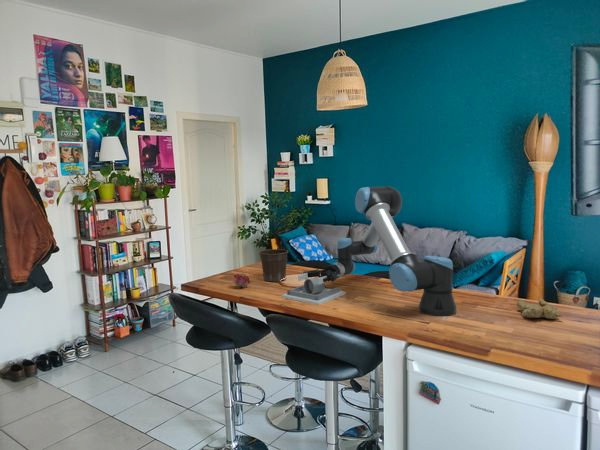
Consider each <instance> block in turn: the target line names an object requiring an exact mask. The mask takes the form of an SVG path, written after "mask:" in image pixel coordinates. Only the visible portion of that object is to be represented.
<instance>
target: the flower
mask: <svg viewBox="0 0 600 450" xmlns="http://www.w3.org/2000/svg"><path fill="white" fill-rule="evenodd" d="M233 276H234V281H233V283H234V284H235V286H238V290H240V289H241V288H243V289H244V288H248V287H247V286H248V285H250V282H251V281H250V277H249V276H248V275H246V274H245V273H236V274H233Z"/></svg>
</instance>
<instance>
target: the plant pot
mask: <svg viewBox="0 0 600 450" xmlns="http://www.w3.org/2000/svg"><path fill="white" fill-rule="evenodd" d="M258 253H259V257H260V260H261V267H262V275H263V281H265V282H266V283H267V282H269V283H270V282H273V283H278V282H279V281H280V280H281V279H283V278H285V277H286V275H287V271H286V270H287V261H288V259H287V258H288V253H289V250H287V249H282V248H281V249H279V248H276V249H275V248H274V249H273V248H271V249H270V248H269V249H263V250H260V251H259V252H258ZM280 282H281V281H280Z"/></svg>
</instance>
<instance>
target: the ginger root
mask: <svg viewBox="0 0 600 450" xmlns="http://www.w3.org/2000/svg"><path fill="white" fill-rule="evenodd" d="M537 300H538V304H536V303H528V302H527V301H526V300H525V301H524V300H517V302H516V307H517V308H519V310H521V311H522V312H521V315H522V316H523V317H525V318H529V319H532V318H533V319H534V318H535V319H536V318H538V319H539V318H542V317H545V318H546V319H548V320H549V319H550V320H555V319H557V318H563V317H564V314H562V313H560V312H559V309H558V306H556V305H553V304H550V303H549V302H547V301H545V300H544V299H543V298H541V297H538V299H537Z"/></svg>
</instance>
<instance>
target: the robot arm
mask: <svg viewBox="0 0 600 450" xmlns="http://www.w3.org/2000/svg"><path fill="white" fill-rule="evenodd" d="M402 206H403V199H402V195H401V193H400V192H399V190H397V189H396V188H394V187H392V186H366V187H360V188H359V189H358V191H356V195H355V200H354V207H355V210H356V211H357V212H358V213H360V214H364V216H365V218H366V219H367V220H368V221H371V223H370V225H369V226H368V229H367V230H366V232H365V234H364V235H363V237H362V239H360V240H353V241H352V238H351V237H341V238H338V239H337V242H336V243H337V244H336V249H337V251H336V253H337V254H336V255H337V262H335V263H332V264H329V265H327V266H326V267H325V268H324V269H319V268H317V269H313V270H306V271H303V272H302V274H298V277H297V279H298V282H301V281H305V280H306V279H310V278H318V284H322V283H327V282H328V283H329V282H331V283H334V282H335V281H336V280H337V279H339V278H340V277H343V276H347V275H350V274H352V273H353V272H354V271H355V270H356V264H355V262H354V260H353V256H360V255H371V254H375V253H376V252H377V251H378V244H377V242H378V241H379V240H381V242H382V244H383V246H384V249H385V251H386V252H387V254H388V257H389V259H390V261H391V262H390V264H389V265H390V266H389V267H390V268H389V269H388V275H389V280H390V283H391V284H392V286H393V287H394V288H395V289H396V290H397V291H400V292H404V293H405V292H408V293H409V292H410V293H411V292H414V291H420V290H423V293H422V296H421V299H420V302H419V305H418V310H419V312H421V313H422V314H425V315H429V316H436V317H438V316H439V317H447V316H452V315H455V314H456V313H457V305H456V302H455V298H454V295H453V281H454V279H453V278H454V275H453V274H454V267H453V266H454V264H453V261H452V259H450V258H448V257H443V256H437V255H424V257H423V260H419V258H418V257H417V254H416V253H414V252H411V251H410V249H409V247H408V246H407V244H406V242H405V240H404V238H403V235H402V234H401V233H400V230H399V228H398V227H397V225H396V223H395V221H394V219H393V218H394V217H396V216H397V215H398V214H399V213H400V211H401V209H402Z"/></svg>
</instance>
